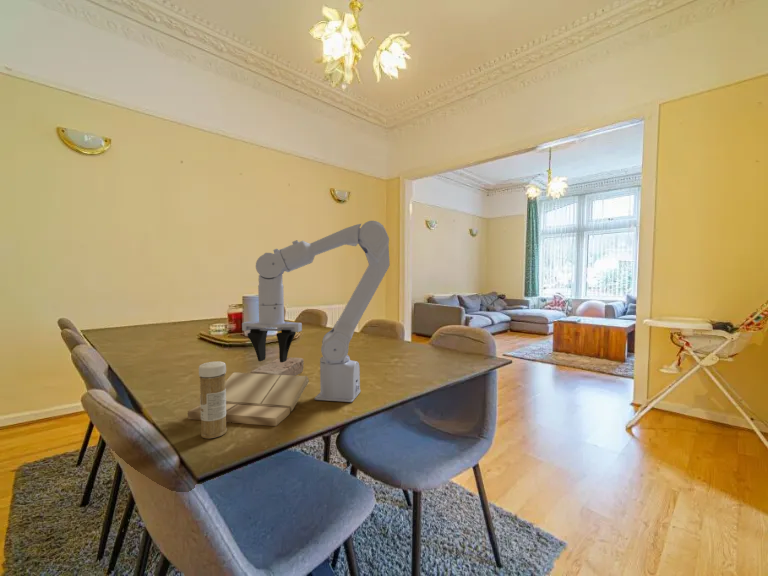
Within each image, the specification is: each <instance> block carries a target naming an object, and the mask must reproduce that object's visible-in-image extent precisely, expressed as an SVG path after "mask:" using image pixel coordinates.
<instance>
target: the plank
mask: <svg viewBox="0 0 768 576" xmlns="http://www.w3.org/2000/svg"><path fill="white" fill-rule="evenodd" d="M308 383H310V382H309V376H308V375H297V376H293V375H274V374H255V373H250V372H233V373H231V375H230V376H228V378H227V379H225V388H226V402H235V403H249V404H263V405H277V406H290V413H291V412H293V410H294V408H295V407H296V405H297V403H298V401H299V400H300V398H301V396H302V394H303V393H304V391H305V389H306V387H307V386H308Z"/></svg>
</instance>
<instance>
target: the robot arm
mask: <svg viewBox="0 0 768 576" xmlns="http://www.w3.org/2000/svg"><path fill="white" fill-rule="evenodd" d="M389 242H390V237H389V235H388V232H387V230H386V228H385V227H384V225H383V224H382V223H381V222H379V221H377V220H369V221H366V222H364V223H363V224H362V223H358V224H354V225H352V226H348V227H344V228H342V229H340V230H338V231H336V232H333V233H332V234H329V235H326V236H324V237H322V238H320V239H317V240H315V241H312V242H311V243H309V242H307V241H305V240H301V241H298V240H294V241H292V242H291V243H292V244H290V245H288V246H285V247H283V248H280V249H279V248H274V249H273V250H272V251H273V253H272V252H265V253H263V254H262V255H260V256H259V257H258V258H257V260H256V262H255V269H256V272H257V273H258V286H257V287H258V288H257V289H258V321H245V322H242V323H241V328H242V329H241V330H242V331H243V332H245V331H249V332H248V333H247V338H248V339H249V341H250V342H251V344H252V346H253V348H254V350H255V351H254V352H255V353H256V357H257V361H258V362H263V361H265V360H266V355H267V353H266V351H267V348H266V347H267V346H266V345H267V336H268V331H269V332H270V331H271V332H278V333H276V338H277V343H278V348H279V349H278V350H279V352H278V353H279V354H278V355H279V356H278V358H279V359H280V362H285V361H286V360H287V358H288V355H289V351H290V346H291V344H292V342H293V340H294V337H295V336H296V335H297V334H296V333H299V332H302V331H303V324H302V322H295V321H294V322H293V321H285V304H284V302H285V301H284V300H285V299H284V295H285V294H284V284H283V274H284V273H285V272H287V273H291V272H292V271H294V270H297V269H300V268H302V267H305V266H308V265H309V264H312V263H313V262H314V260H315V257H316V256H318V255H320V254H323V253H325V252H329V251H331V250H335V249H337V248H340V247H342V246H344V245H345V246H352V247H357V246H358V245H359V246H360V248H361V250H362V251H363V252H364V254H365V257H366V260H367V263H368V265H367V267H366V269H365V271H364V273H363V274H362V276H361V278H360V280H359V282H357V283H358V284H357V285H356V287H355V289H354V291H353V292H352V294H351V296H350V298H349V300H348V302H347V303H346V305H345V307H344V309H343V311H342V312H341V314H340V316H339V317H338V319H337V321H336V322H335V323H334V325H333V327H332V328H331V330H329V331H328V332H327V333H325V334H324V336H323V337H322V341H321V347H320V348H321V349H320V350H321V351H320V352H321V355H322V357H319V359H320V360H319V364H320V365H319V367H320V369H319V374H320V375H319V378H320V392H319V393H318V394H317V395H316V396H315V397H314V400H315V401H330V402H344V403H353V402H354V400H355V399H356V398H357V397H358V395H359V394H360V393H361V381H360V380H361V377H360V375H361V371H360V370H361V369H360V363H359V362H358V361H356V360H351V358H350V355H348V353H349V346H350V345H349V344H350V342H351V341H352V338H353V335H354V333H355V329H356V327H357V326H358V324H359V322H360V320H361V319H362V317H363V315H364V313H365V312H366V310H367V308H368V306H369V305H370V302H371V300H372V299H373V296H374V295H375V293H376V292H377V289H378V288H379V286H380V285H381V282H382V280H383V278H384V277H385V276H386V273H387V272H388V269H389V267H390V262H391V261H390V250H389V249H390V247H389V244H390V243H389Z"/></svg>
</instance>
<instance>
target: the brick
mask: <svg viewBox="0 0 768 576" xmlns="http://www.w3.org/2000/svg"><path fill="white" fill-rule="evenodd" d="M304 364H305V363H304V358H302V357H287V360H286V361H285V362H280V359H279V357H278V358H276V359H274V360H272V361H271V362H269V363H267V364H265V365H260V366H258V367H257V368H255V369H253V370H251V371H250V372H249V373H255V374H274V375H293V376H296V375H297V376H299V375H300V374H301V373H302V372H303V371H304ZM298 374H299V375H298Z"/></svg>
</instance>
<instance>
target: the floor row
mask: <svg viewBox="0 0 768 576" xmlns="http://www.w3.org/2000/svg"><path fill="white" fill-rule="evenodd" d="M290 413H291V411H290V406H277V405H263V404H249V403H235V402H226V423H231V422H232V424H233V423H234V424H246V425H255V426H258V425H259V426H268V427H270V426H271V427H277V426H278V425H279V424H280V423H282V422H283V421H284V420H285V419H286V418H287V417H288V416H289V415H290ZM187 419H188V420H197V421H198V420H199V421H201V410H200V404H199V405H197V406H195V407H193V408H191V409H190V410H188V411H187Z"/></svg>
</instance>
